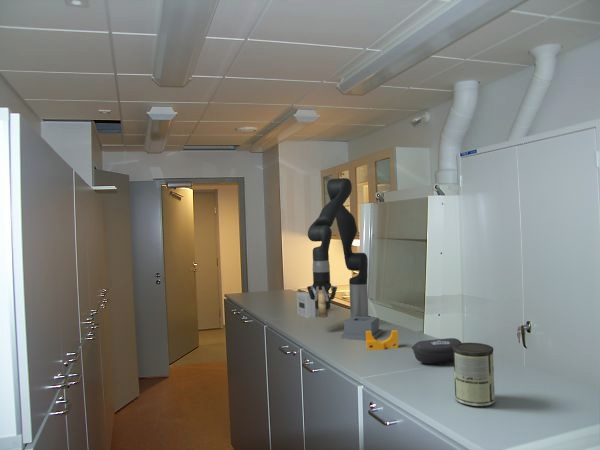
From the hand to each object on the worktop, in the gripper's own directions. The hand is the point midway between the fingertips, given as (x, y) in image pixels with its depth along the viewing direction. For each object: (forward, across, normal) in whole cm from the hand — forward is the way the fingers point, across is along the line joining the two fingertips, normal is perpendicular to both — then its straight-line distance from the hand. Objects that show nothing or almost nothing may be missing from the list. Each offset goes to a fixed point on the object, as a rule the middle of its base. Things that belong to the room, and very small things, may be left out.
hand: (322, 309), depth 214 cm
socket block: (+11, -17, -2) cm, 20 cm away
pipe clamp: (+11, -30, +16) cm, 36 cm away
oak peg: (+3, 0, 0) cm, 3 cm away
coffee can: (+10, -67, +62) cm, 92 cm away
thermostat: (+12, +21, -41) cm, 47 cm away
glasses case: (+11, -53, +29) cm, 62 cm away
